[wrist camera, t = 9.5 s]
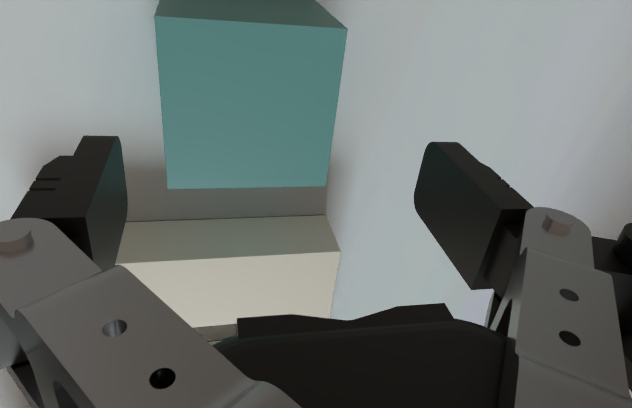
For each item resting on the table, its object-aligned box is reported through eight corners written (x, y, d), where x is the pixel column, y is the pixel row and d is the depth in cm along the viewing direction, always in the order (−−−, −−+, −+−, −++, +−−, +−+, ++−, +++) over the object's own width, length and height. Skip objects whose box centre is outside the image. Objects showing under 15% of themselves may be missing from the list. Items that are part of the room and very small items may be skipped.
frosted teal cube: (313, -2, 18) (347, 28, 14) (300, 130, 21) (325, 186, 17) (164, -13, 17) (154, 16, 13) (173, 129, 20) (167, 189, 16)
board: (325, 215, 24) (340, 251, 21) (302, 375, 31) (312, 416, 28) (48, 225, 21) (28, 268, 18) (92, 400, 28) (82, 449, 25)
